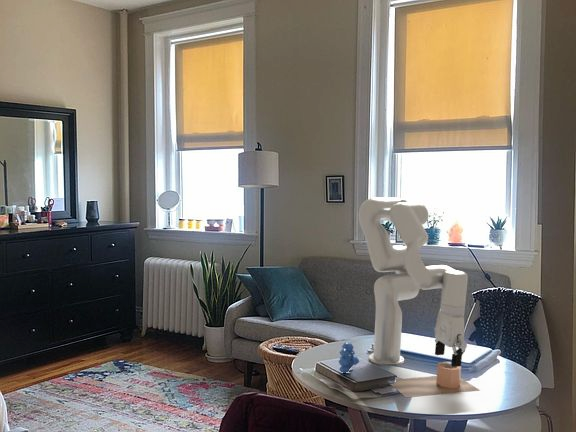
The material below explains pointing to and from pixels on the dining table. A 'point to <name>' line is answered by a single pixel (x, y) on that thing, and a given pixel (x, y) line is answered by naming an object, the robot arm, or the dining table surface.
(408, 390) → the stand
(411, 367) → the dining table surface
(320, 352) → the dining table surface
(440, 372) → the collar
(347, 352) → the grapes
